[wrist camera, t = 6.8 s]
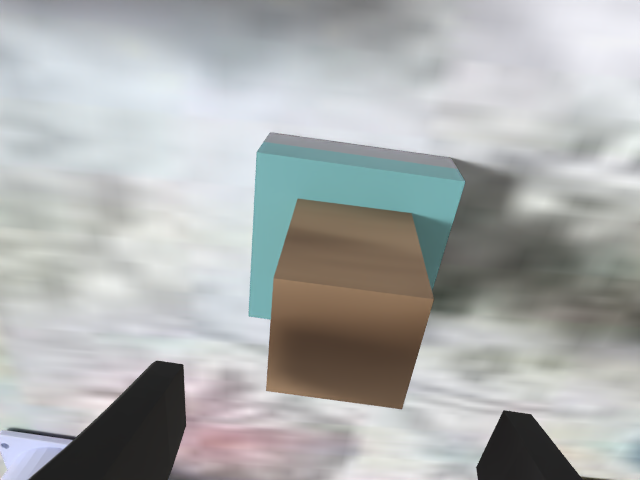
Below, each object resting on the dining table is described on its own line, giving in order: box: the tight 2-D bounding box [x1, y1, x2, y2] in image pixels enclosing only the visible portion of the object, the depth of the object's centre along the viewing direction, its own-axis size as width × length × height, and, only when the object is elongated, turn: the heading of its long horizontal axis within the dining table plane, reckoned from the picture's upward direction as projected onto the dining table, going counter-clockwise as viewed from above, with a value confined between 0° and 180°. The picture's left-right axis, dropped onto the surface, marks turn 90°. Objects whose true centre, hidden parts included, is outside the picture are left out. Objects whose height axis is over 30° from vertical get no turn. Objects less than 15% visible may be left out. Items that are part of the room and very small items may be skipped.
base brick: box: [249, 133, 465, 319], centre depth 17 cm, size 7×7×2 cm
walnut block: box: [266, 199, 434, 409], centre depth 14 cm, size 4×4×5 cm
